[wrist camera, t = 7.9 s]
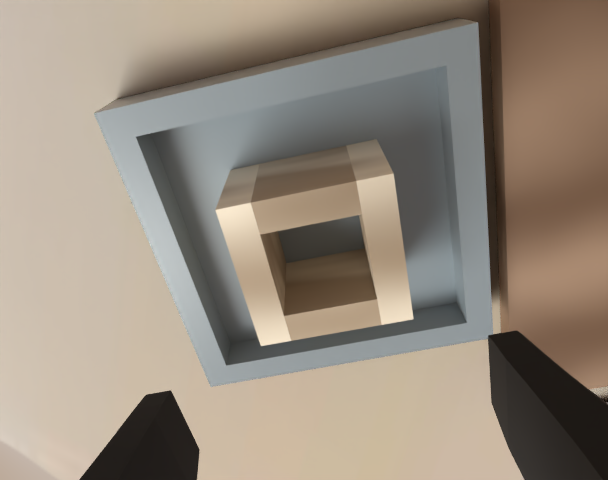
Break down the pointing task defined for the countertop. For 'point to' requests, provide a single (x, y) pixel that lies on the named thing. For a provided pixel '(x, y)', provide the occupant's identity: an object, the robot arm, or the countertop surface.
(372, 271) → the hollow wooden block
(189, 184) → the tray
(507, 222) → the stake board
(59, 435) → the countertop surface
